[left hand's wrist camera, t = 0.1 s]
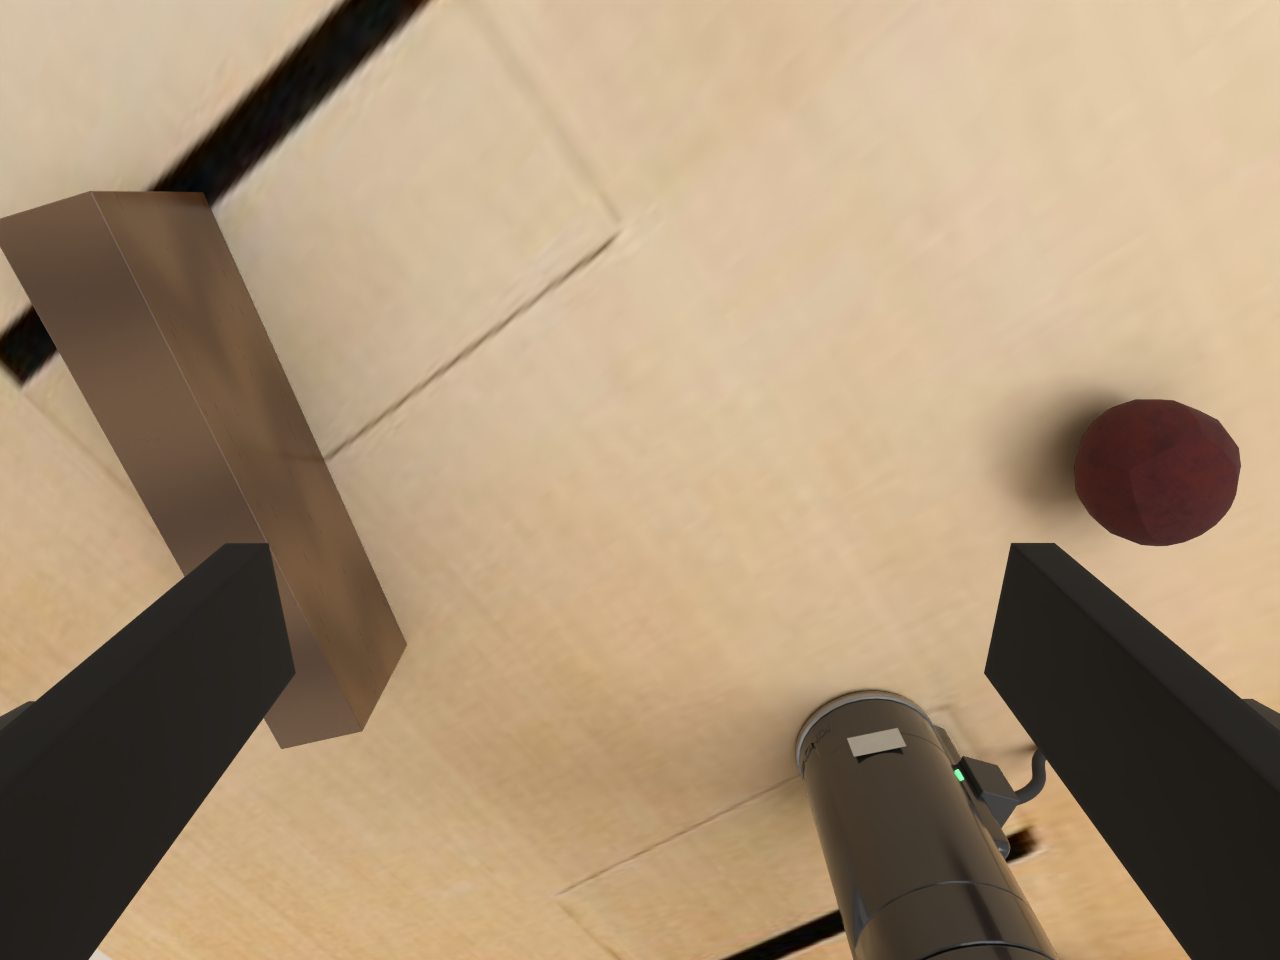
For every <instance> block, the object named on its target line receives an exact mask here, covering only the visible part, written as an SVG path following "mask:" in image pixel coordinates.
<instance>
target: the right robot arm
mask: <svg viewBox="0 0 1280 960" xmlns="http://www.w3.org/2000/svg"><path fill="white" fill-rule="evenodd" d="M795 753H796V761H797V766H798V769H799V772H800V775H801V777H802V779H803V781H804V785H805V789H806V792H807V796H808V799H809V803H810V807H811V811H812V814H813V818H814V822H815V825H816V829H817V832H818V836H819V839H820V843H821V846H822V850H823V853H824V857H825V861H826V864H827V868H828V871H829V875H830V878H831V882H832V885H833V889H834V893H835V896H836V900H837V903H838V907H839V910H840V914H841V917H842V921H843V924H844V928H845V932H846V935H847V939H848V942H849V946H850V949H851V953H852V956H853V960H1060V959H1059V957H1058V955H1057V954H1056V952H1055V950H1054V948H1053V946H1052V944H1051V943H1050V941H1049V939H1048V937H1047V935H1046V934H1045V932H1044V930H1043V928H1042V926H1041V925H1040V923H1039V921H1038V919H1037V917H1036V915H1035V914H1034V912H1033V911H1032V909H1031V907H1030V905H1029V903H1028V901H1027V900H1026V898H1025V896H1024V894H1023V892H1022V890H1021V889H1020V887H1019V885H1018V883H1017V881H1016V879H1015V878H1014V876H1013V874H1012V872H1011V870H1010V869H1009V867H1008V865H1007V863H1006V861H1005V858H1006V857H1007V856H1008V854H1009V852H1010V845H1009V842H1008V840H1007V838H1006V836H1005V834H1004V833H1003V831H1002V829H1001V828H1002V827H1003V825H1004V824H1005V822H1006V821H1007V819H1008V818H1009V816H1010V815H1011V813H1012V812H1013V810H1014V809H1015V807H1016V806H1017V805H1020V804H1023V803H1025V802H1027V801H1029V800H1031V799H1033V798H1034V797H1036V796H1037V795H1038V794H1039V793H1040V791H1041V790H1042V789H1043V787H1044V784H1045V780H1046V772H1045V761H1046V758H1045V757H1044V755H1043V754H1042V752H1041V751H1040V750H1039V748H1038V749H1037V750H1036V751H1035V753H1034V755H1033V758H1032V780H1031V781H1030V782H1029V783H1028V784H1027V785H1026V786H1025V787H1023V788H1022V789H1020V790H1018V791H1015V792H1014V791H1013V789H1012V788H1011V786H1010V784H1009V783H1008V781H1007V780H1006V778H1005V777H1004V775H1003V773H1002V772H1001V770H1000V769H999V767H998V766H997V765H994V764H990V763H987V762H983V761H979V760H976V759H972V758H968V757H965V756H963V757H962V758H960V756H959V754H958V752H957V751H956V749H955V747H954V745H953V744H952V742H951V740H950V738H949V737H948V735H947V733H946V731H945V730H944V729H942V728H939V727H936V726H934V725H932V723H931V721H930V719H929V717H928V716H927V715H926V713H925V712H924V711H923V710H922V709H921V708H920V707H919V706H918V705H917V704H915V703H914V702H912V701H911V700H909V699H907V698H905V697H902V696H900V695H897V694H893V693H889V692H882V691H864V692H857V693H852V694H849V695H845V696H842V697H840V698H837V699H835V700H833V701H831V702H829V703H827V704H826V705H824V706H823V707H821V708H820V709H819V710H818V711H816V712H815V713H814V714H813V715H812V716H811V717H810V718H809V719H808V721H807V722H806V723H805V725H804V726H803V728H802V730H801V732H800V734H799V736H798V739H797V743H796V752H795Z"/></svg>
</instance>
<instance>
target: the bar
mask: <svg viewBox="0 0 1280 960" xmlns="http://www.w3.org/2000/svg"><path fill="white" fill-rule="evenodd" d="M0 247H1V249H2V251H3V252H4V254H5V256H6V258H7V260H8V261H9V263H10V265H11V267H12V269H13V270H14V272H15V274H16V276H17V278H18V279H19V281H20V283H21V285H22V286H23V288H24V290H25V292H26V294H27V295H28V297H29V299H30V301H31V303H32V304H33V306H34V308H35V310H36V311H37V313H38V315H39V317H40V319H41V320H42V322H43V324H44V326H45V328H46V329H47V331H48V333H49V335H50V336H51V338H52V340H53V342H54V344H55V345H56V347H57V349H58V351H59V353H60V354H61V356H62V358H63V360H64V362H65V363H66V365H67V367H68V369H69V370H70V372H71V374H72V376H73V378H74V379H75V381H76V383H77V385H78V387H79V388H80V390H81V392H82V394H83V395H84V397H85V399H86V401H87V403H88V404H89V406H90V408H91V410H92V412H93V413H94V415H95V417H96V419H97V421H98V422H99V424H100V426H101V428H102V429H103V431H104V433H105V435H106V437H107V438H108V440H109V442H110V444H111V446H112V447H113V449H114V451H115V453H116V454H117V456H118V458H119V460H120V462H121V463H122V465H123V467H124V469H125V471H126V472H127V474H128V476H129V478H130V480H131V481H132V483H133V485H134V487H135V488H136V490H137V492H138V494H139V496H140V497H141V499H142V501H143V503H144V505H145V506H146V508H147V510H148V512H149V513H150V515H151V517H152V519H153V521H154V522H155V524H156V526H157V528H158V530H159V531H160V533H161V535H162V537H163V538H164V540H165V542H166V544H167V546H168V547H169V549H170V551H171V553H172V555H173V556H174V558H175V560H176V562H177V564H178V565H179V567H180V569H181V571H182V572H183V574H184V576H187V575H188V574H189V573H190V572H191V571H193V570H194V569H195V568H196V567H197V566H199V565H200V564H201V563H202V562H203V561H205V560H206V559H207V558H208V557H209V556H211V555H212V554H213V553H214V552H215V551H217V550H218V549H219V548H220V547H221V546H223V545H224V544H225V543H269V546H270V551H271V556H272V561H273V566H274V571H275V575H276V580H277V585H278V590H279V595H280V599H281V604H282V609H283V614H284V619H285V623H286V628H287V633H288V638H289V643H290V647H291V652H292V657H293V662H294V667H295V671H296V674H295V675H294V676H293V678H292V679H291V681H290V682H289V683H288V685H287V686H286V687H285V689H284V690H283V692H282V693H281V694H280V696H279V697H278V699H277V700H276V701H275V703H274V704H273V705H272V707H271V708H270V710H269V711H268V712H267V714H266V715H265V716H264V719H265V721H266V723H267V724H268V726H269V728H270V730H271V732H272V733H273V735H274V737H275V739H276V740H277V742H278V744H279V746H280V748H281V749H284V748H288V747H293V746H298V745H302V744H307V743H311V742H316V741H320V740H325V739H329V738H334V737H338V736H343V735H348V734H352V733H357V732H361V731H363V729H364V727H365V725H366V723H367V721H368V719H369V717H370V715H371V713H372V711H373V710H374V708H375V706H376V704H377V702H378V700H379V698H380V696H381V694H382V692H383V690H384V688H385V686H386V685H387V683H388V681H389V679H390V677H391V675H392V673H393V671H394V669H395V667H396V665H397V663H398V661H399V660H400V658H401V656H402V654H403V652H404V650H405V648H406V646H407V644H406V642H405V640H404V638H403V635H402V633H401V631H400V629H399V626H398V624H397V622H396V620H395V618H394V615H393V613H392V611H391V609H390V606H389V604H388V602H387V600H386V598H385V595H384V593H383V591H382V589H381V586H380V584H379V582H378V580H377V578H376V575H375V573H374V571H373V569H372V566H371V564H370V562H369V560H368V558H367V555H366V553H365V551H364V549H363V546H362V544H361V542H360V540H359V538H358V535H357V533H356V531H355V529H354V526H353V524H352V522H351V520H350V518H349V515H348V513H347V511H346V509H345V506H344V504H343V502H342V500H341V498H340V495H339V493H338V491H337V489H336V486H335V484H334V482H333V480H332V478H331V475H330V473H329V471H328V469H327V466H326V464H325V462H324V460H323V458H322V455H321V453H320V451H319V449H318V446H317V444H316V442H315V440H314V438H313V435H312V433H311V431H310V429H309V426H308V424H307V422H306V420H305V418H304V415H303V413H302V411H301V409H300V406H299V404H298V402H297V400H296V397H295V395H294V393H293V391H292V389H291V386H290V384H289V382H288V380H287V377H286V375H285V373H284V371H283V369H282V366H281V364H280V362H279V360H278V357H277V355H276V353H275V351H274V349H273V346H272V344H271V342H270V340H269V337H268V335H267V333H266V331H265V329H264V326H263V324H262V322H261V320H260V317H259V315H258V313H257V311H256V309H255V306H254V304H253V302H252V300H251V297H250V295H249V293H248V291H247V289H246V286H245V284H244V282H243V280H242V277H241V275H240V273H239V271H238V269H237V266H236V264H235V262H234V260H233V257H232V255H231V253H230V251H229V249H228V246H227V244H226V242H225V240H224V237H223V235H222V233H221V231H220V229H219V226H218V224H217V222H216V220H215V217H214V215H213V213H212V211H211V209H210V206H209V204H208V202H207V200H206V197H205V195H204V193H203V192H131V191H89V192H86V193H82V194H79V195H76V196H73V197H69V198H66V199H63V200H60V201H56V202H53V203H50V204H47V205H43V206H40V207H37V208H33V209H30V210H27V211H24V212H20V213H17V214H14V215H11V216H7V217H4V218H1V219H0Z"/></svg>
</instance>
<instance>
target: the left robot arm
mask: <svg viewBox="0 0 1280 960" xmlns="http://www.w3.org/2000/svg"><path fill="white" fill-rule="evenodd" d="M295 674H296V671H295V667H294V662H293V657H292V652H291V647H290V643H289V638H288V633H287V628H286V623H285V619H284V614H283V609H282V604H281V599H280V595H279V590H278V585H277V580H276V575H275V571H274V566H273V561H272V556H271V551H270V546H269V543H225V544H224V545H223V546H221V547H220V548H219V549H218V550H217V551H215V552H214V553H213V554H212V555H211V556H209V557H208V558H207V559H206V560H205V561H203V562H202V563H201V564H200V565H199V566H197V567H196V568H195V569H194V570H193V571H191V572H190V573H189V574H188V575H187V576H185V577H184V578H183V579H182V580H181V581H179V582H178V583H177V584H176V585H175V586H173V587H172V588H171V589H170V590H169V591H167V592H166V593H165V594H164V595H163V596H161V597H160V598H159V599H158V600H157V601H155V602H154V603H153V604H152V605H151V606H149V607H148V608H147V609H146V610H145V611H143V612H142V613H141V614H140V615H139V616H137V617H136V618H135V619H134V620H133V621H131V622H130V623H129V624H128V625H127V626H125V627H124V628H123V629H122V630H121V631H119V632H118V633H117V634H116V635H115V636H113V637H112V638H111V639H110V640H109V641H107V642H106V643H105V644H104V645H103V646H101V647H100V648H99V649H98V650H97V651H95V652H94V653H93V654H92V655H91V656H89V657H88V658H87V659H86V660H85V661H83V662H82V663H81V664H80V665H79V666H77V667H76V668H75V669H74V670H73V671H71V672H70V673H69V674H68V675H67V676H65V677H64V678H63V679H62V680H61V681H59V682H58V683H57V684H56V685H55V686H53V687H52V688H51V689H50V690H49V691H47V692H46V693H45V694H44V695H43V696H41V697H40V698H39V699H38V700H37V701H28V702H27V703H25V704H23V705H21V706H19V707H17V708H16V709H14V710H12V711H10V712H8V713H6V714H5V715H3V716H1V717H0V960H89V958H90V957H91V956H92V954H93V953H94V951H95V950H96V949H97V947H98V946H99V944H100V943H101V942H102V940H103V939H104V938H105V936H106V935H107V933H108V932H109V931H110V929H111V928H112V926H113V925H114V924H115V922H116V921H117V920H118V918H119V917H120V915H121V914H122V913H123V911H124V910H125V909H126V907H127V906H128V904H129V903H130V902H131V900H132V899H133V897H134V896H135V895H136V893H137V892H138V891H139V889H140V888H141V886H142V885H143V884H144V882H145V881H146V880H147V878H148V877H149V875H150V874H151V873H152V871H153V870H154V868H155V867H156V866H157V864H158V863H159V862H160V860H161V859H162V857H163V856H164V855H165V853H166V852H167V851H168V849H169V848H170V846H171V845H172V844H173V842H174V841H175V839H176V838H177V837H178V835H179V834H180V833H181V831H182V830H183V828H184V827H185V826H186V824H187V823H188V821H189V820H190V819H191V817H192V816H193V815H194V813H195V812H196V810H197V809H198V808H199V806H200V805H201V804H202V802H203V801H204V799H205V798H206V797H207V795H208V794H209V792H210V791H211V790H212V788H213V787H214V786H215V784H216V783H217V781H218V780H219V779H220V777H221V776H222V775H223V773H224V772H225V770H226V769H227V768H228V766H229V765H230V763H231V762H232V761H233V759H234V758H235V757H236V755H237V754H238V752H239V751H240V750H241V748H242V747H243V746H244V744H245V743H246V741H247V740H248V739H249V737H250V736H251V734H252V733H253V732H254V730H255V729H256V728H257V726H258V725H259V723H260V722H261V721H262V719H263V718H264V716H265V715H266V714H267V712H268V711H269V710H270V708H271V707H272V705H273V704H274V703H275V701H276V700H277V699H278V697H279V696H280V694H281V693H282V692H283V690H284V689H285V687H286V686H287V685H288V683H289V682H290V681H291V679H292V678H293V676H294V675H295ZM984 674H985V675H986V676H987V678H988V679H989V681H990V682H991V683H992V685H993V686H994V687H995V689H996V690H997V692H998V693H999V694H1000V696H1001V697H1002V699H1003V700H1004V701H1005V703H1006V704H1007V705H1008V707H1009V708H1010V710H1011V711H1012V712H1013V714H1014V715H1015V716H1016V718H1017V719H1018V721H1019V722H1020V723H1021V725H1022V726H1023V728H1024V729H1025V730H1026V732H1027V733H1028V734H1029V736H1030V737H1031V739H1032V740H1033V741H1034V743H1035V744H1036V746H1037V747H1038V748H1039V750H1040V751H1041V752H1042V754H1043V755H1044V757H1045V758H1046V759H1047V761H1048V762H1049V763H1050V765H1051V766H1052V768H1053V769H1054V770H1055V772H1056V773H1057V775H1058V776H1059V777H1060V779H1061V780H1062V781H1063V783H1064V784H1065V786H1066V787H1067V788H1068V790H1069V791H1070V792H1071V794H1072V795H1073V797H1074V798H1075V799H1076V801H1077V802H1078V804H1079V805H1080V806H1081V808H1082V809H1083V810H1084V812H1085V813H1086V815H1087V816H1088V817H1089V819H1090V820H1091V821H1092V823H1093V824H1094V826H1095V827H1096V828H1097V830H1098V831H1099V833H1100V834H1101V835H1102V837H1103V838H1104V839H1105V841H1106V842H1107V844H1108V845H1109V846H1110V848H1111V849H1112V851H1113V852H1114V853H1115V855H1116V856H1117V857H1118V859H1119V860H1120V862H1121V863H1122V864H1123V866H1124V867H1125V868H1126V870H1127V871H1128V873H1129V874H1130V875H1131V877H1132V878H1133V880H1134V881H1135V882H1136V884H1137V885H1138V886H1139V888H1140V889H1141V891H1142V892H1143V893H1144V895H1145V896H1146V897H1147V899H1148V900H1149V902H1150V903H1151V904H1152V906H1153V907H1154V909H1155V910H1156V911H1157V913H1158V914H1159V915H1160V917H1161V918H1162V920H1163V921H1164V922H1165V924H1166V925H1167V926H1168V928H1169V929H1170V931H1171V932H1172V933H1173V935H1174V936H1175V938H1176V939H1177V940H1178V942H1179V943H1180V944H1181V946H1182V947H1183V949H1184V950H1185V951H1186V953H1187V954H1188V956H1189V957H1190V958H1191V960H1280V714H1279V713H1277V712H1276V711H1274V710H1272V709H1270V708H1268V707H1266V706H1265V705H1263V704H1261V703H1259V702H1257V701H1255V700H1253V699H1241V698H1240V697H1239V696H1237V695H1236V694H1235V693H1234V692H1233V691H1231V690H1230V689H1229V688H1228V687H1227V686H1225V685H1224V684H1223V683H1222V682H1221V681H1219V680H1218V679H1217V678H1216V677H1215V676H1213V675H1212V674H1211V673H1210V672H1209V671H1207V670H1206V669H1205V668H1204V667H1203V666H1201V665H1200V664H1199V663H1198V662H1197V661H1195V660H1194V659H1193V658H1192V657H1191V656H1189V655H1188V654H1187V653H1186V652H1185V651H1183V650H1182V649H1181V648H1180V647H1179V646H1177V645H1176V644H1175V643H1174V642H1173V641H1171V640H1170V639H1169V638H1168V637H1167V636H1165V635H1164V634H1163V633H1162V632H1161V631H1159V630H1158V629H1157V628H1156V627H1155V626H1153V625H1152V624H1151V623H1150V622H1149V621H1147V620H1146V619H1145V618H1144V617H1143V616H1141V615H1140V614H1139V613H1138V612H1137V611H1135V610H1134V609H1133V608H1132V607H1131V606H1129V605H1128V604H1127V603H1126V602H1125V601H1123V600H1122V599H1121V598H1120V597H1119V596H1117V595H1116V594H1115V593H1114V592H1113V591H1111V590H1110V589H1109V588H1108V587H1107V586H1105V585H1104V584H1103V583H1102V582H1101V581H1099V580H1098V579H1097V578H1096V577H1095V576H1093V575H1092V574H1091V573H1090V572H1089V571H1087V570H1086V569H1085V568H1084V567H1083V566H1081V565H1080V564H1079V563H1078V562H1077V561H1075V560H1074V559H1073V558H1072V557H1071V556H1069V555H1068V554H1067V553H1066V552H1065V551H1063V550H1062V549H1061V548H1060V547H1059V546H1057V545H1056V544H1055V543H1011V546H1010V551H1009V556H1008V561H1007V566H1006V571H1005V575H1004V580H1003V585H1002V590H1001V595H1000V599H999V604H998V609H997V614H996V619H995V623H994V628H993V633H992V638H991V643H990V647H989V652H988V657H987V662H986V667H985V671H984Z"/></svg>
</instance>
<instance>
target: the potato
mask: <svg viewBox="0 0 1280 960" xmlns="http://www.w3.org/2000/svg"><path fill="white" fill-rule="evenodd" d="M1240 468H1241V463H1240V454H1239V448H1238V446H1237V445H1236V443H1235V442H1234V441H1233V439H1232V438H1231V436H1230V435H1229V434H1228V432H1227V431H1226V430H1225V428H1224V427H1223V426H1222V425H1221V423H1220V422H1219V421H1218V420H1217V419H1215V418H1213V417H1211V416H1209V415H1207V414H1205V413H1203V412H1201V411H1199V410H1196V409H1194V408H1191V407H1189V406H1186V405H1184V404H1181V403H1179V402H1176V401H1173V400H1133V401H1130V402H1127V403H1124V404H1121V405H1118V406H1115V407H1113V408H1110V409H1108V410H1107V411H1106V412H1105V413H1103V414H1102V415H1101V416H1100V417H1098V418H1097V419H1096V420H1095V421H1093V423H1092V424H1091V426H1090V427H1089V429H1088V430H1087V432H1086V433H1085V435H1084V436H1083V438H1082V441H1081V444H1080V448H1079V451H1078V454H1077V458H1076V462H1075V466H1074V473H1075V488H1076V492H1077V494H1078V496H1079V498H1080V500H1081V502H1082V503H1083V505H1084V506H1085V508H1086V509H1087V511H1088V513H1089V514H1090V515H1091V516H1092V517H1093V518H1094V519H1095V520H1096V521H1097V522H1098V523H1099V524H1101V525H1102V526H1103V527H1104V528H1105V529H1107V530H1108V531H1109V532H1110V533H1112V534H1114V535H1117V536H1120V537H1122V538H1125V539H1127V540H1130V541H1133V542H1135V543H1138V544H1140V545H1150V546H1168V545H1173V544H1178V543H1182V542H1186V541H1188V540H1190V539H1193V538H1195V537H1198V536H1200V535H1202V534H1203V533H1205V532H1206V531H1208V530H1209V529H1211V528H1212V527H1213V526H1215V525H1216V524H1217V523H1218V522H1219V521H1220V520H1221V519H1222V518H1223V517H1224V515H1225V514H1226V513H1227V512H1228V510H1229V509H1230V507H1231V505H1232V503H1233V501H1234V498H1235V496H1236V491H1237V485H1238V479H1239V473H1240Z"/></svg>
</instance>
